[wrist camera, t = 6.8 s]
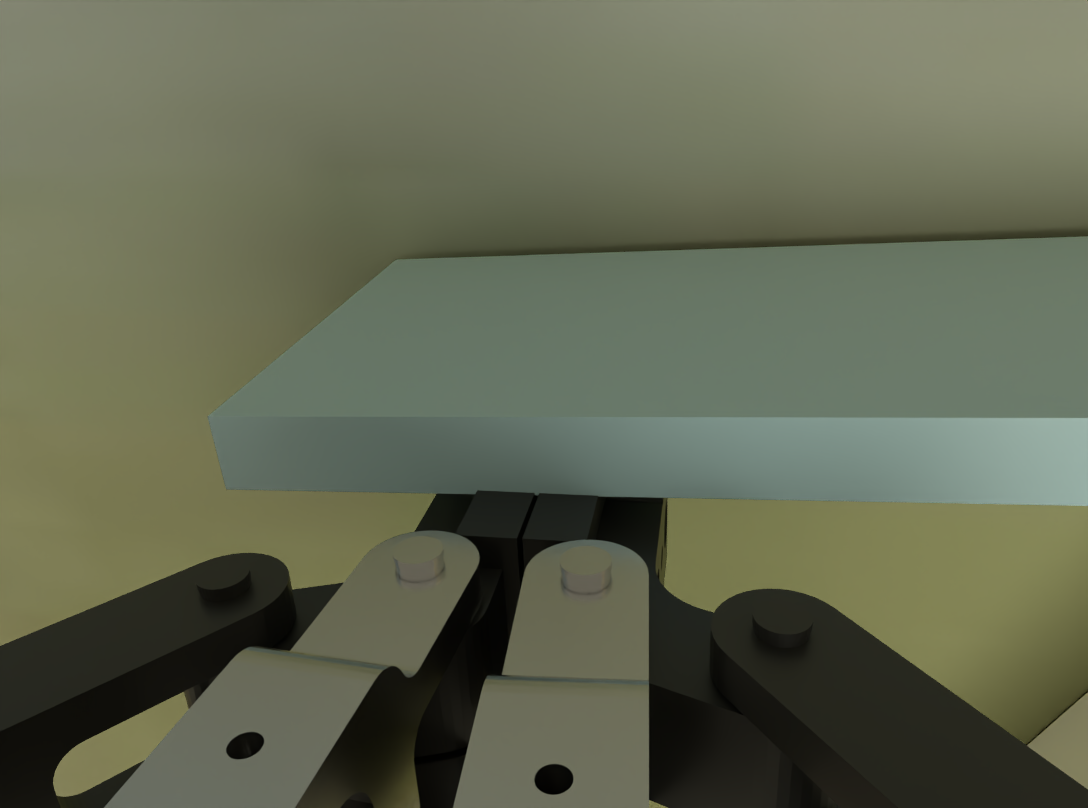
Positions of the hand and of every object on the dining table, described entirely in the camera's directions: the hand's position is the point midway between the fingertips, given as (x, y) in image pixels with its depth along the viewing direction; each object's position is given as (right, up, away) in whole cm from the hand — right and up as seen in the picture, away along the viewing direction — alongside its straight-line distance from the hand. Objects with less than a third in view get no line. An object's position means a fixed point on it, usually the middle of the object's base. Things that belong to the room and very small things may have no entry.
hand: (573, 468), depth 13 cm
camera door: (+6, +3, +2) cm, 7 cm away
